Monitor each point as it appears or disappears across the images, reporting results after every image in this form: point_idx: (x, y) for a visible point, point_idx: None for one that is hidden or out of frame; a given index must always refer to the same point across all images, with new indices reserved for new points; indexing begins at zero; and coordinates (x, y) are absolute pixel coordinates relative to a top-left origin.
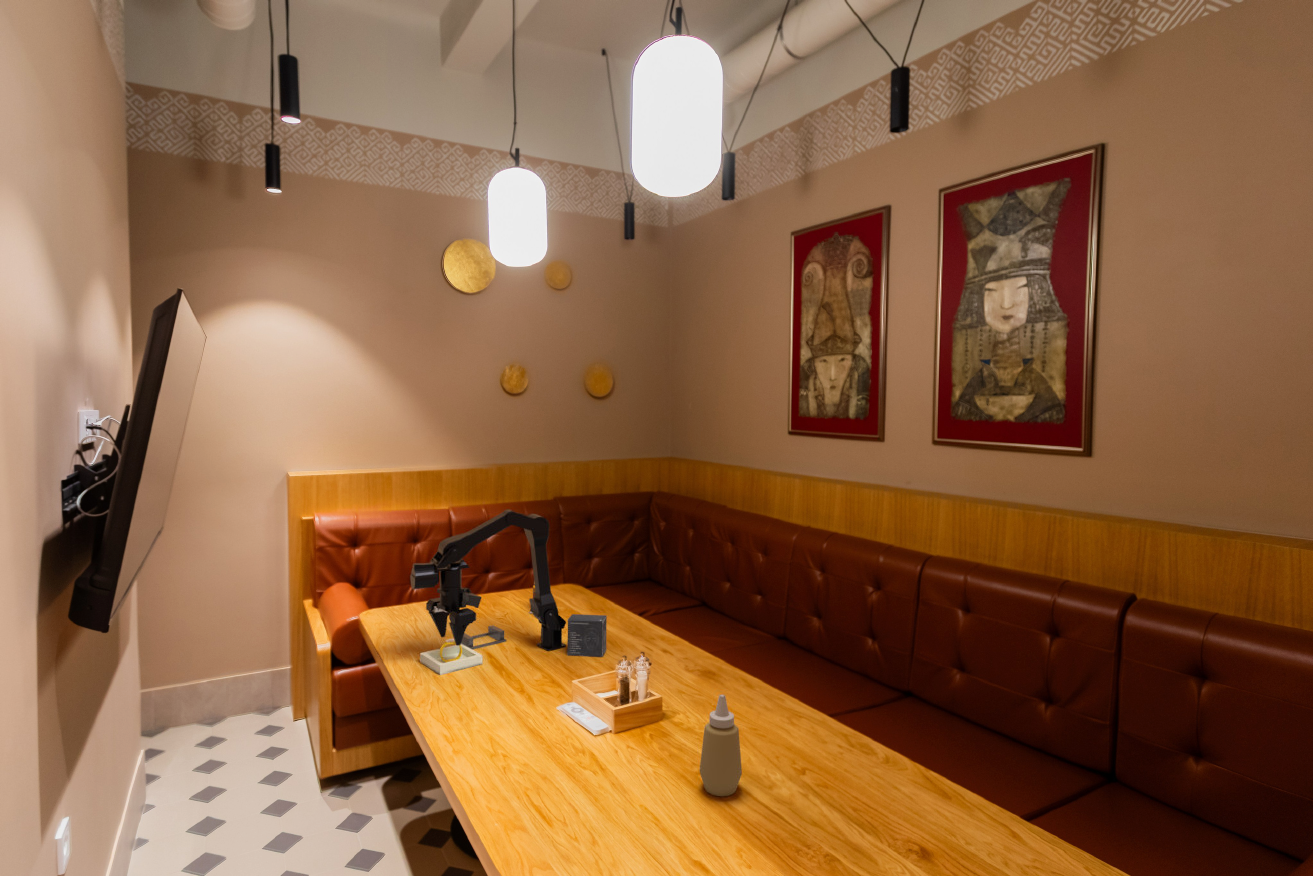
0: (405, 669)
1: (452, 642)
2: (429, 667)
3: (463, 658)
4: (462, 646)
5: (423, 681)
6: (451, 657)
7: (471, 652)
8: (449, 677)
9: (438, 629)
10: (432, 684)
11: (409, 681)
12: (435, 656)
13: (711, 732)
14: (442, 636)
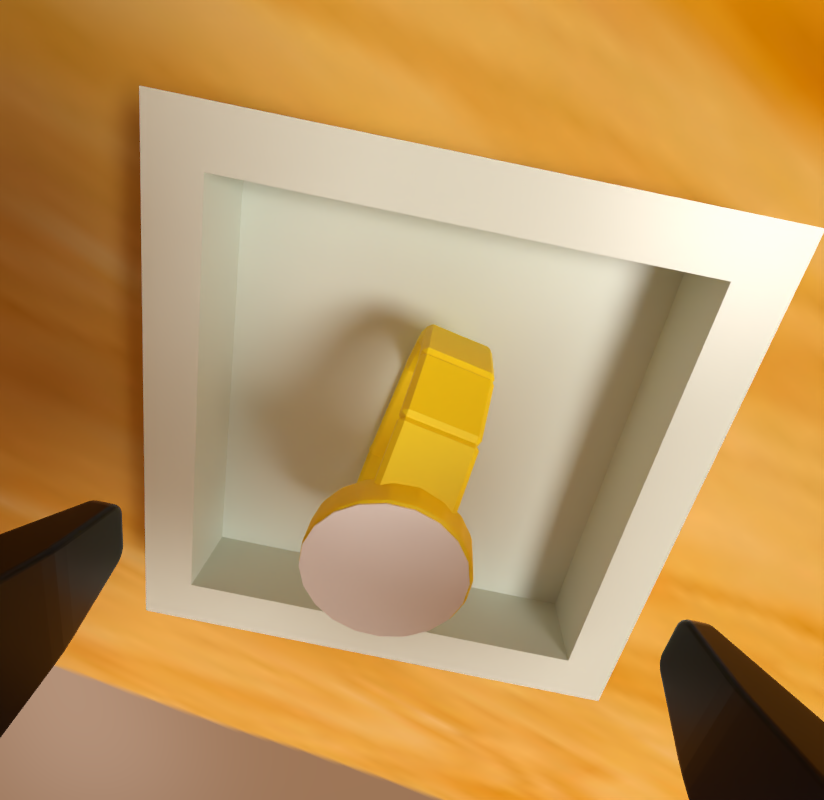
0: (259, 682)
1: (466, 591)
2: None
3: (659, 463)
4: (266, 166)
5: (566, 740)
6: (323, 346)
7: (579, 248)
8: (684, 617)
9: (4, 725)
10: (668, 742)
11: (483, 776)
12: (217, 465)
13: None
14: (116, 549)
